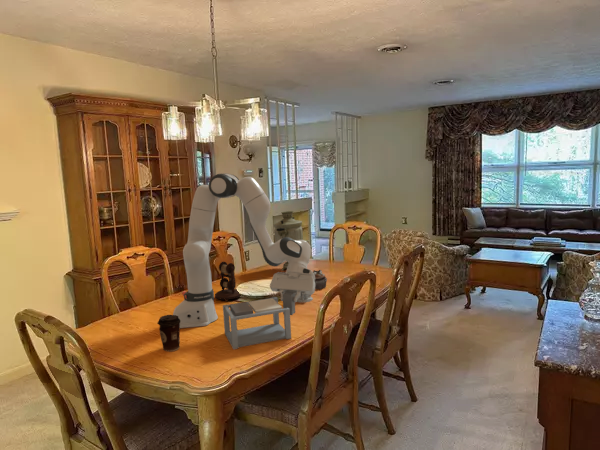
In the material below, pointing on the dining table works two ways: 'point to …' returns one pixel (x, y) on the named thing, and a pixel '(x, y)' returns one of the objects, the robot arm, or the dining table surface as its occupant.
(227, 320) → the frame
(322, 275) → the cupcake
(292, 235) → the samovar
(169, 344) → the coffee cup
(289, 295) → the stone
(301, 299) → the crystal
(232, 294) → the coffee pod holder
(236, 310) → the trapdoor
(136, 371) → the dining table surface
